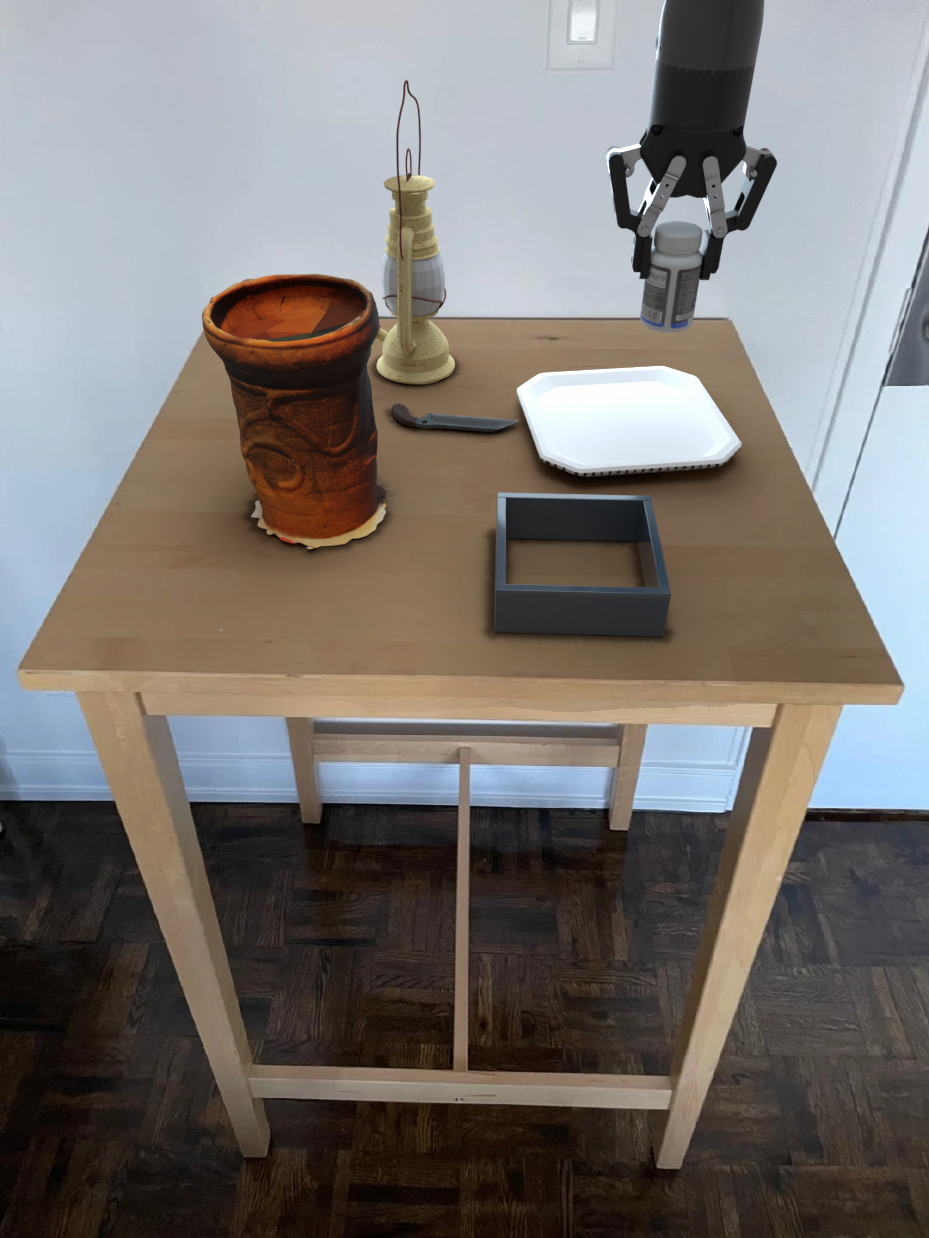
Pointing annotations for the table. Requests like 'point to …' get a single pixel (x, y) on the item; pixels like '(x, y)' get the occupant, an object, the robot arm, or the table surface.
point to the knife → (450, 421)
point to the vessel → (303, 401)
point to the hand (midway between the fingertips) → (672, 275)
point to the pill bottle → (672, 278)
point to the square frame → (581, 604)
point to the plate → (625, 421)
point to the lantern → (412, 282)
